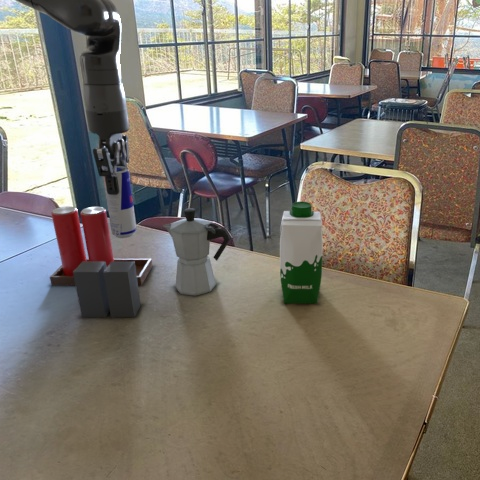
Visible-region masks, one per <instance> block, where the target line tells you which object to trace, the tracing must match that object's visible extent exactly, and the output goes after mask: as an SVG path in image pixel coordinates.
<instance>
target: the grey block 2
mask: <svg viewBox="0 0 480 480" xmlns="http://www.w3.org/2000/svg"><path fill="white" fill-rule="evenodd" d="M103 274H104V280H105V286H106V292H107V297H108V303H109V309H110V311H109V314H110V318H135V317H136V315H137V313H138V311H139V309H140V307H141V305H142V304H141V298H140V297H141V296H140V290H139V289H140V288H139V286H138V282H137V275H136V268H135V261H111V262H110V264H109V265H108V266H107V268H106V269H105V270H104V272H103Z"/></svg>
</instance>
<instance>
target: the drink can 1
mask: <svg viewBox="0 0 480 480" xmlns="http://www.w3.org/2000/svg"><path fill="white" fill-rule="evenodd" d="M50 215H51V218H52V223H53V228H54V233H55V239H56V243H57V248H58V252H59V258H60V262H61V265H62V267H63V272H64V276H74V275H73V271H74V270H75V269H76V268H77V267H78V266H79V265H80V264H81V262H82V261H87V259H88V258H87V254H86V249H85V244H84V239H83V234H82V228H81V223H80V222H81V221H80V217H79V212H78V209H77V208H76V207H75V206H69V205H67V206H60V207H56V208H54V209H53V210H52V211H50Z"/></svg>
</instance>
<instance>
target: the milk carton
mask: <svg viewBox="0 0 480 480" xmlns="http://www.w3.org/2000/svg"><path fill="white" fill-rule="evenodd" d="M312 207H313V205H312V203H311V202H308V201H295V202H293V203H292V204H291V210H284V211H283V213H282V218H281V223H280V228H279V233H280V236H279V237H280V238H279V277H280V284H281V290H282V299H283V304H307V305H309V304H311V305H315V304H316V305H317V304H318V300H319V296H320V295H319V294H320V289H321V282H322V278H323V277H322V275H323V254H324V253H323V251H324V250H323V249H324V248H323V247H324V246H323V245H324V239H323V238H324V236H323V234H324V228H323V226H322V225H323V221H322V215H321V212H320V211H314V210H312Z"/></svg>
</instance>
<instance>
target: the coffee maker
mask: <svg viewBox="0 0 480 480" xmlns="http://www.w3.org/2000/svg"><path fill="white" fill-rule="evenodd" d="M183 212H184V215H185V218H182V219H180V220H177V221H174V222H171V223H167V224H166V223H165V224H163V225H162V227H164V228H165V229H166V231H167V232H168V234H169V235H170V237H171V238H172V242H173V248H174V251H175V255H176V257H177V258H178V259H177V263H176V274H175V275H176V277H175V285H174V286H175V287H174V288H175V289H176V290H177V291H178V293H179V294H180V295H186V296H193V297H196V296H200V295H203V294H206V293H211V291H212V290H213V289H214V288H215V287H216V285H217V281H216V278H215V274H214V270H213V265H212V263H211V258H210V256H209V255H210V247H211V241H212V240H215V239H219V238H222V239H223V241H222V243H221V245H219V247H218V249H217V251H216V253H215V254H214V256H213V259H214V260H215V261H218V260H219V259H220V257H221V256H222V254H223V252H224V251H225V249H226V247H227V246H228V244H229V243H230V241H231V239H232V238H231V235H230V233H229V232H228V230H227V229H226V228H224V227H220V225H218V224H217V223H216V222H211V221H210V220H207V219H203V218H200V217H196V218H195V214H196V208H193V207H188V208H185V209H184V210H183Z"/></svg>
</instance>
